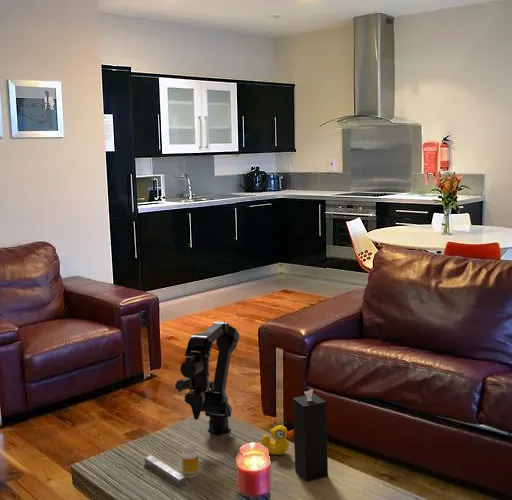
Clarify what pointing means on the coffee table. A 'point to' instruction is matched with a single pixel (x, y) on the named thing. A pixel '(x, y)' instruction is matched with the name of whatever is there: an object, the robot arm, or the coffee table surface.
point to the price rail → (165, 471)
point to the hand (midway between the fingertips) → (199, 415)
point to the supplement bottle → (190, 460)
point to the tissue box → (310, 436)
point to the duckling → (278, 440)
